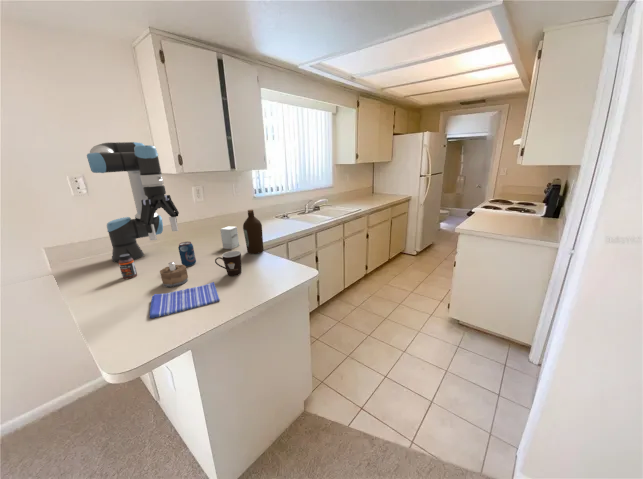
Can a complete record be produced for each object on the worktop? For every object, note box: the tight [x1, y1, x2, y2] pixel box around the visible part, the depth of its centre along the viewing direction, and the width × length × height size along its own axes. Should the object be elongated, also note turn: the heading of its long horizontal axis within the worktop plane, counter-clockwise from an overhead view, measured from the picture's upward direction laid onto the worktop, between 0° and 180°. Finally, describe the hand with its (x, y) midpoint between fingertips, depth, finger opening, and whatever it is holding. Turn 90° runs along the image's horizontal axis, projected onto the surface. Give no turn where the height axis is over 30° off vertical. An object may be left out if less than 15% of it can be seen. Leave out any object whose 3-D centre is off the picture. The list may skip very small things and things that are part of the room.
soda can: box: [178, 241, 197, 267], centre depth 140 cm, size 7×7×12 cm
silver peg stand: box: [162, 261, 189, 289], centre depth 119 cm, size 10×10×10 cm
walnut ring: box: [159, 264, 189, 285], centre depth 120 cm, size 10×10×5 cm
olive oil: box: [242, 209, 264, 255], centre depth 153 cm, size 11×11×25 cm
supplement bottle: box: [118, 254, 138, 280], centre depth 128 cm, size 6×6×11 cm
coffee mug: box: [214, 250, 242, 277], centre depth 127 cm, size 12×9×10 cm
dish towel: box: [149, 281, 220, 319], centre depth 104 cm, size 17×24×3 cm
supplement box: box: [219, 226, 240, 250], centre depth 166 cm, size 7×7×13 cm
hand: (165, 235), depth 114 cm, fingers open, 13 cm apart
